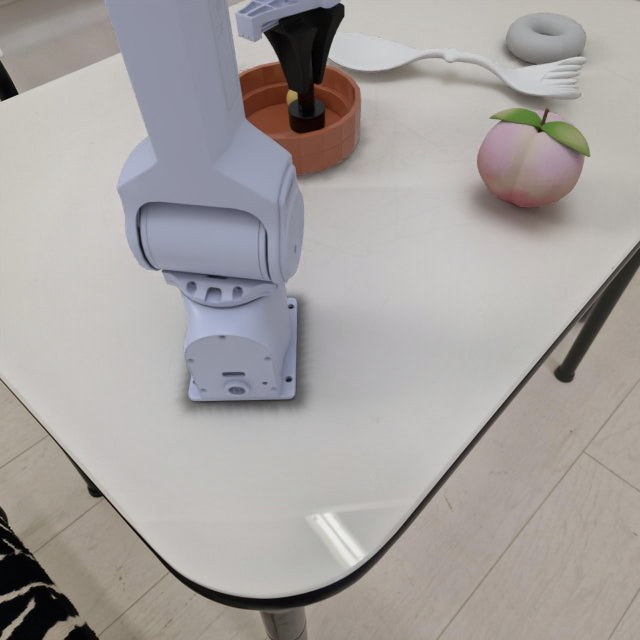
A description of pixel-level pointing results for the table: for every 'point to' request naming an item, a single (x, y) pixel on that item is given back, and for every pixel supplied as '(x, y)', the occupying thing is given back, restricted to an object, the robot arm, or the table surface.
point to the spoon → (389, 55)
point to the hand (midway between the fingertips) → (305, 85)
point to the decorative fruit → (531, 157)
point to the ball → (291, 96)
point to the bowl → (273, 120)
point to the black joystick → (307, 108)
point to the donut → (545, 38)
